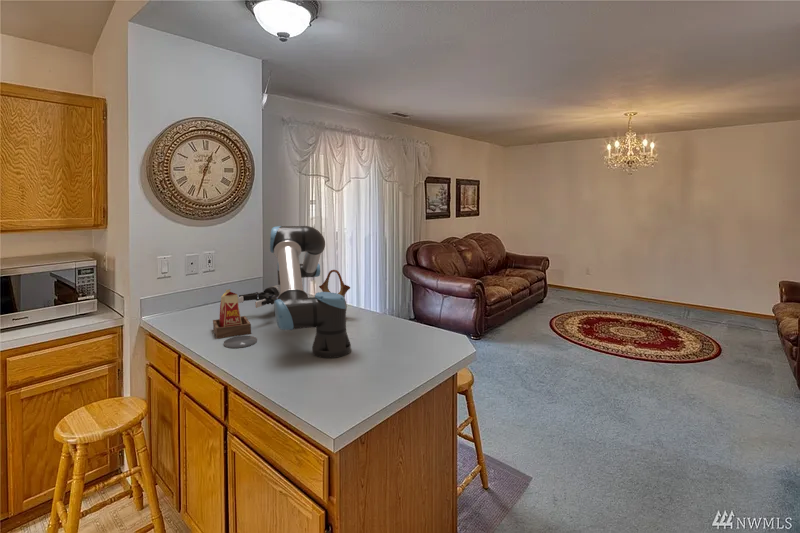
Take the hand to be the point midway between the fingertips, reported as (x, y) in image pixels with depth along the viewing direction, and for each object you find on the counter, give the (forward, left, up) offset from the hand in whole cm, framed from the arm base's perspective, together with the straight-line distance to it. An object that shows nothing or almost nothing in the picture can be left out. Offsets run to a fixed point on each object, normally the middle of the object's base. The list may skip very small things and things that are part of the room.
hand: (244, 303), depth 195 cm
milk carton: (-4, +7, -11) cm, 14 cm away
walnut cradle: (-6, +7, -11) cm, 14 cm away
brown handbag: (-9, -41, -11) cm, 44 cm away
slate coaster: (-23, +6, -11) cm, 26 cm away
